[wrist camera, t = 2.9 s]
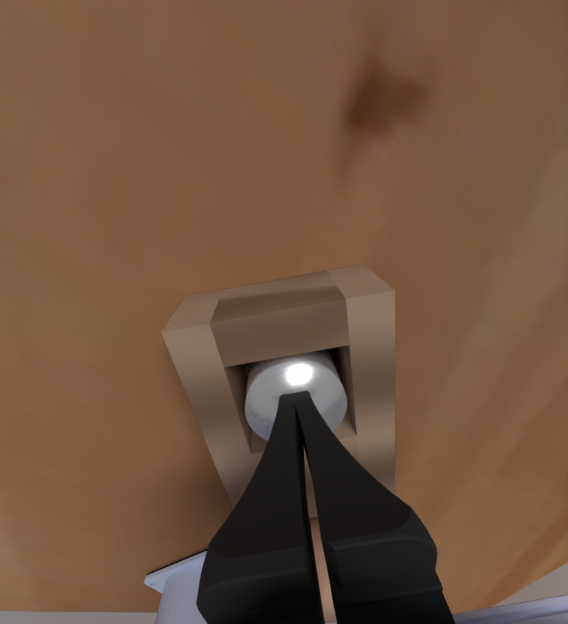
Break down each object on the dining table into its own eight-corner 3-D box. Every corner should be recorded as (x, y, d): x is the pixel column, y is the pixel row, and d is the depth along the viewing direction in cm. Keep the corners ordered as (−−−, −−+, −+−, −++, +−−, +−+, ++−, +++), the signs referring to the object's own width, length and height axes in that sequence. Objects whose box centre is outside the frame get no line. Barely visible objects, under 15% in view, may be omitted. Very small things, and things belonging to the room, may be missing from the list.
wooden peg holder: (374, 509, 24) (394, 567, 20) (265, 528, 24) (265, 589, 21) (362, 264, 15) (395, 289, 11) (186, 296, 15) (161, 332, 11)
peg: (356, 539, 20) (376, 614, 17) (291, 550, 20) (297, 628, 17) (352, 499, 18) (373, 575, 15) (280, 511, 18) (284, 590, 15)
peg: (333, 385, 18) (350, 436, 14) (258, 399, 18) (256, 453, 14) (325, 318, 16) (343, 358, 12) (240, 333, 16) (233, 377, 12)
